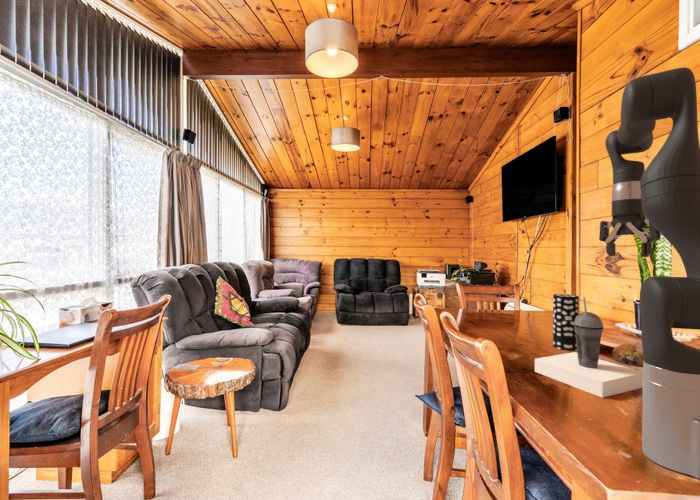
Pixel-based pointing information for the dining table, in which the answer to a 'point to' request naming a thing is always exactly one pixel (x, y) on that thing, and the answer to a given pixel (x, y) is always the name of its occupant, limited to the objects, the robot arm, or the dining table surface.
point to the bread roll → (628, 354)
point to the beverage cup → (588, 338)
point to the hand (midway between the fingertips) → (627, 256)
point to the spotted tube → (565, 321)
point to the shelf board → (590, 374)
